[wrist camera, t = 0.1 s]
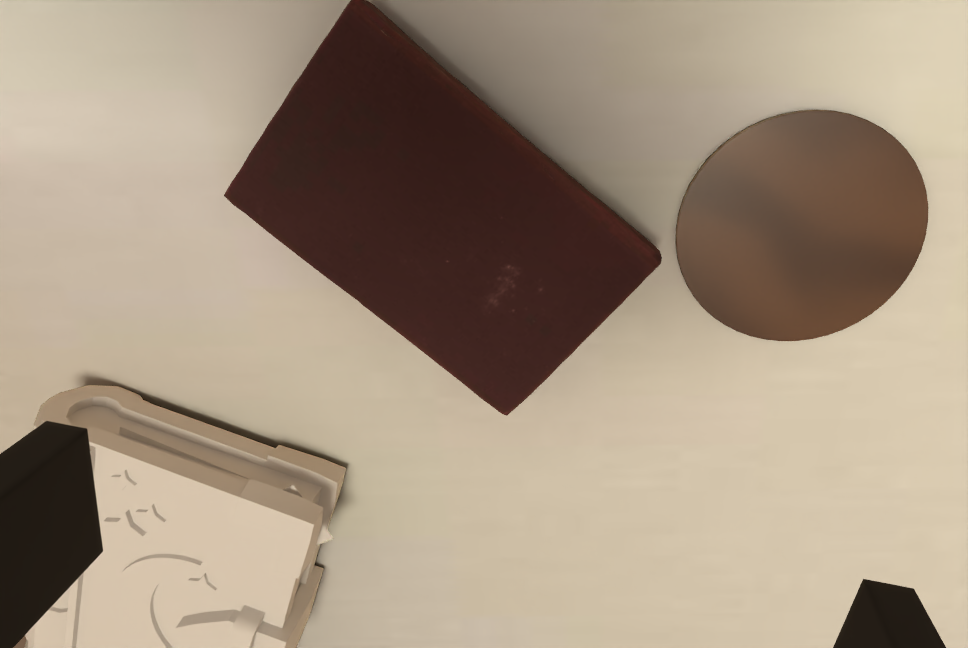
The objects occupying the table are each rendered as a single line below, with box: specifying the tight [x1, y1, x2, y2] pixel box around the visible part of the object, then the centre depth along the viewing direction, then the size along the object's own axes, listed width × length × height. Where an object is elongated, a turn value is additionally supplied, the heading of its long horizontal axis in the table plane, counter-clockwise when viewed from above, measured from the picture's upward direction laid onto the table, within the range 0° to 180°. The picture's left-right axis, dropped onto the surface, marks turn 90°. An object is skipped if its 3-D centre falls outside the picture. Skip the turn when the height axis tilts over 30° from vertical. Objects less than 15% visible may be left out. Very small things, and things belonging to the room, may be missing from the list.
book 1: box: [24, 385, 346, 648], centre depth 48 cm, size 19×28×8 cm
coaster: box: [676, 110, 928, 341], centre depth 36 cm, size 12×12×1 cm
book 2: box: [224, 0, 662, 415], centre depth 37 cm, size 12×19×3 cm, turn 51°
